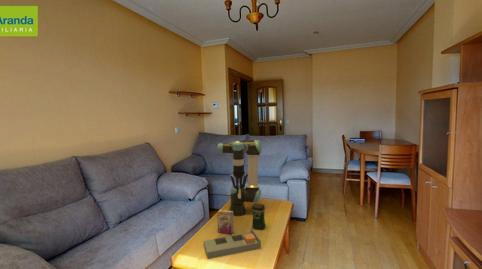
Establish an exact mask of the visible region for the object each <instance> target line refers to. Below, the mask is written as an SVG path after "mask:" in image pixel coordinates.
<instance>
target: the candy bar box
mask: <svg viewBox="0 0 482 269" xmlns="http://www.w3.org/2000/svg"><path fill="white" fill-rule="evenodd" d="M216 214H217V233H220V234H227V235H232V234H233V233H234V232H235V231H234V229H235V227H234V225H235V224H234V215H233V211H229V209H227V210H226V209H221V208H220V209H219V210H218V211H217V212H216Z"/></svg>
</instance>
